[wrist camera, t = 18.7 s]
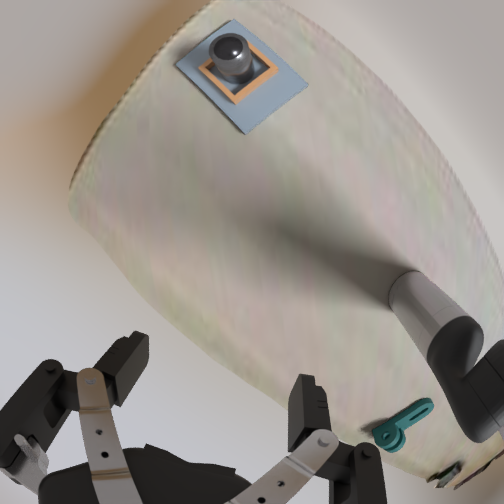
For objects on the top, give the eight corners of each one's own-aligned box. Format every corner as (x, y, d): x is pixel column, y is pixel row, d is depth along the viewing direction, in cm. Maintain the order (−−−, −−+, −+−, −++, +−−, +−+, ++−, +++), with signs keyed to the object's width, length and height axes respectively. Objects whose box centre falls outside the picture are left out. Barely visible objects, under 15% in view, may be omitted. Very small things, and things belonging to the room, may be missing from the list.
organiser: (307, 86, 37) (309, 80, 34) (245, 134, 40) (243, 132, 37) (235, 22, 34) (232, 14, 31) (177, 66, 37) (171, 61, 35)
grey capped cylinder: (257, 59, 35) (252, 34, 26) (251, 86, 37) (243, 66, 28) (226, 55, 35) (213, 31, 27) (219, 82, 37) (204, 62, 28)
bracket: (381, 436, 58) (386, 456, 51) (371, 429, 57) (377, 450, 50) (434, 403, 54) (443, 422, 46) (427, 394, 53) (437, 414, 45)
